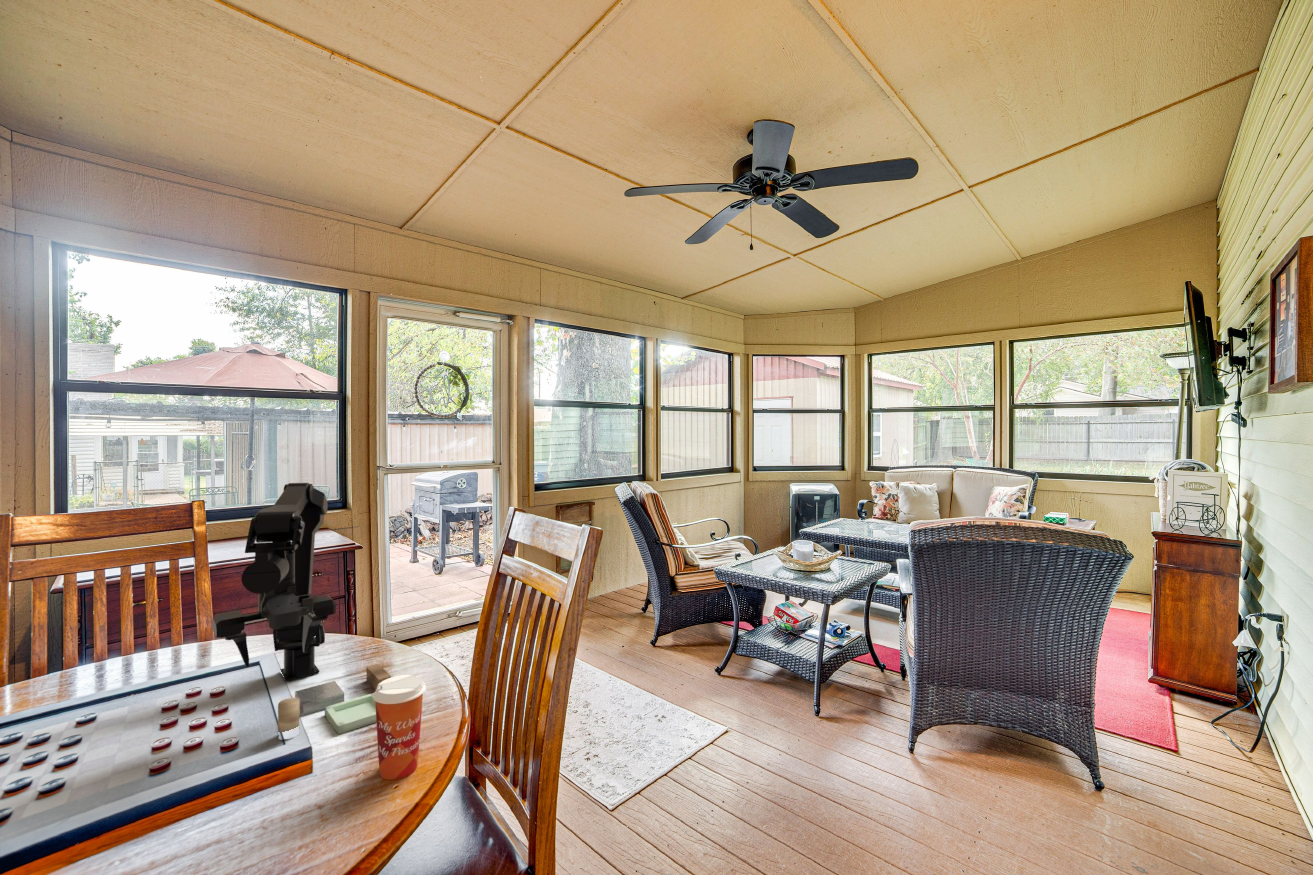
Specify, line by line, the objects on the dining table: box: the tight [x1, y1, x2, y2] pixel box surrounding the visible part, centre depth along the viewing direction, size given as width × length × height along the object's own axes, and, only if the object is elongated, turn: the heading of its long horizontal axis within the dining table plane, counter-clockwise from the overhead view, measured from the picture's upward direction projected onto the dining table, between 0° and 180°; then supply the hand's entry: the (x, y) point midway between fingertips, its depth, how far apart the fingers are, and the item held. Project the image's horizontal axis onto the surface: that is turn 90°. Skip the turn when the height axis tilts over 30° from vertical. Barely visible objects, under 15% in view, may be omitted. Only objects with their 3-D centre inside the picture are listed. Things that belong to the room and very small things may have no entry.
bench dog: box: [365, 663, 392, 692], centre depth 120 cm, size 8×2×3 cm, turn 44°
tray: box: [324, 692, 376, 735], centre depth 107 cm, size 9×9×2 cm
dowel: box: [277, 697, 301, 733], centre depth 100 cm, size 3×3×6 cm
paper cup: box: [373, 674, 427, 781], centre depth 91 cm, size 8×8×14 cm
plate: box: [294, 680, 345, 716], centre depth 112 cm, size 7×7×2 cm
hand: (276, 658), depth 106 cm, fingers open, 9 cm apart
